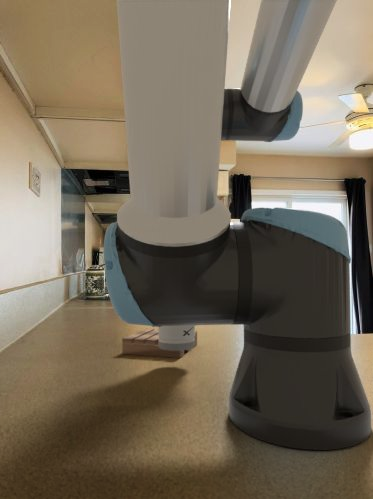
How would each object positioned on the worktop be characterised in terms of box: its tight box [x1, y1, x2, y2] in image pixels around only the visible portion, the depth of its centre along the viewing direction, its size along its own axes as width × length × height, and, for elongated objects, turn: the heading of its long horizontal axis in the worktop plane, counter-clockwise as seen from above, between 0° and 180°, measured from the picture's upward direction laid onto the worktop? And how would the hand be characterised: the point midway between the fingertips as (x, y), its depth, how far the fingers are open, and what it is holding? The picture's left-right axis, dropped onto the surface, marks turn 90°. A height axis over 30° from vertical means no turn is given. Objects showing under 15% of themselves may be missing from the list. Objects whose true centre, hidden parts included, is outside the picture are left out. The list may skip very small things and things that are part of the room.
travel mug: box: [157, 325, 196, 351], centre depth 64 cm, size 6×7×20 cm
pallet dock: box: [121, 328, 198, 359], centre depth 76 cm, size 12×12×3 cm
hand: (176, 323), depth 63 cm, fingers closed on travel mug, 6 cm apart
